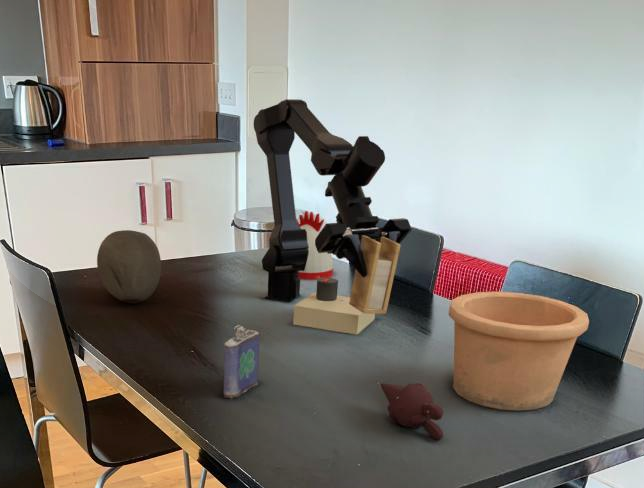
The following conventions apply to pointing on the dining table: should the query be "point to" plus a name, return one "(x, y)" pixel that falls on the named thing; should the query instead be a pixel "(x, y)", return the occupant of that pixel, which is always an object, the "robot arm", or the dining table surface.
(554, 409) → the dining table surface
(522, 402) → the pottery
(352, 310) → the wooden block
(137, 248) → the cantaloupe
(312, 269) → the kitchen timer
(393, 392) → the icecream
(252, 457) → the dining table surface
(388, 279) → the napkin holder
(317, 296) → the dial
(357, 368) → the dining table surface
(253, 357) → the flask
